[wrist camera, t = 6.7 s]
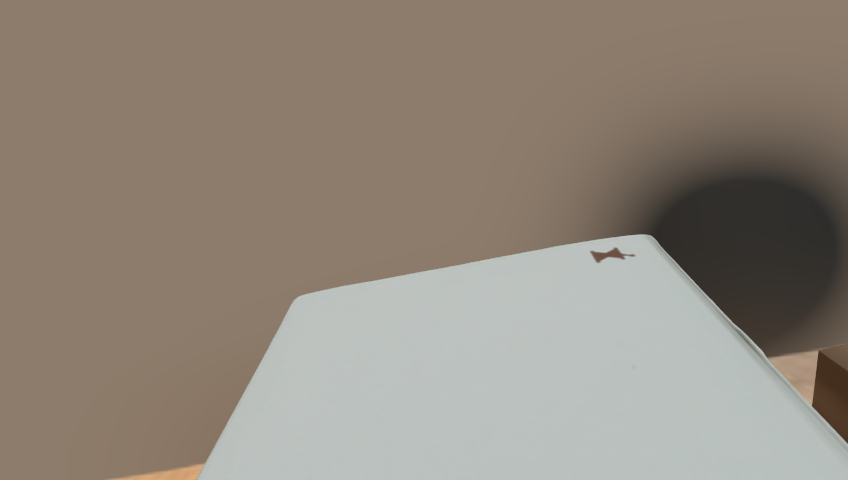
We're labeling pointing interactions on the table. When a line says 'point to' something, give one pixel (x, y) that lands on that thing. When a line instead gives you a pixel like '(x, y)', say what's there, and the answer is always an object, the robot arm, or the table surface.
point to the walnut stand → (833, 388)
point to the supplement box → (523, 380)
